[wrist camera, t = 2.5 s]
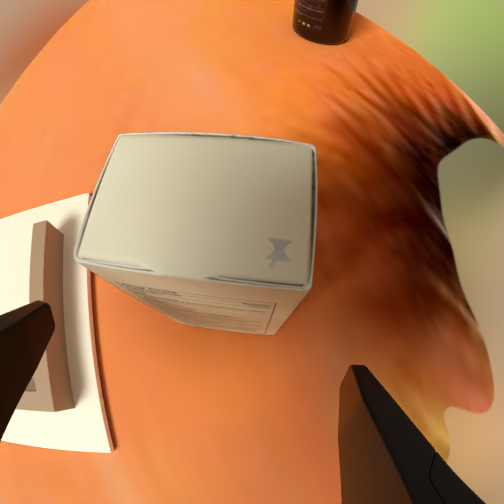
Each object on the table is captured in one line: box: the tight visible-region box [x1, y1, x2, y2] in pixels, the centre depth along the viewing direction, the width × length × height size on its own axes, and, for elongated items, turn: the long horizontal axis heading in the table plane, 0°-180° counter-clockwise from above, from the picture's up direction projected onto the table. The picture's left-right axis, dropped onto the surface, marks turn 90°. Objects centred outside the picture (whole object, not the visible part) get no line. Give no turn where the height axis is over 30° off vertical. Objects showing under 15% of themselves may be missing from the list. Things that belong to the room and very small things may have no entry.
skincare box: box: [73, 132, 318, 335], centre depth 13 cm, size 6×4×12 cm
